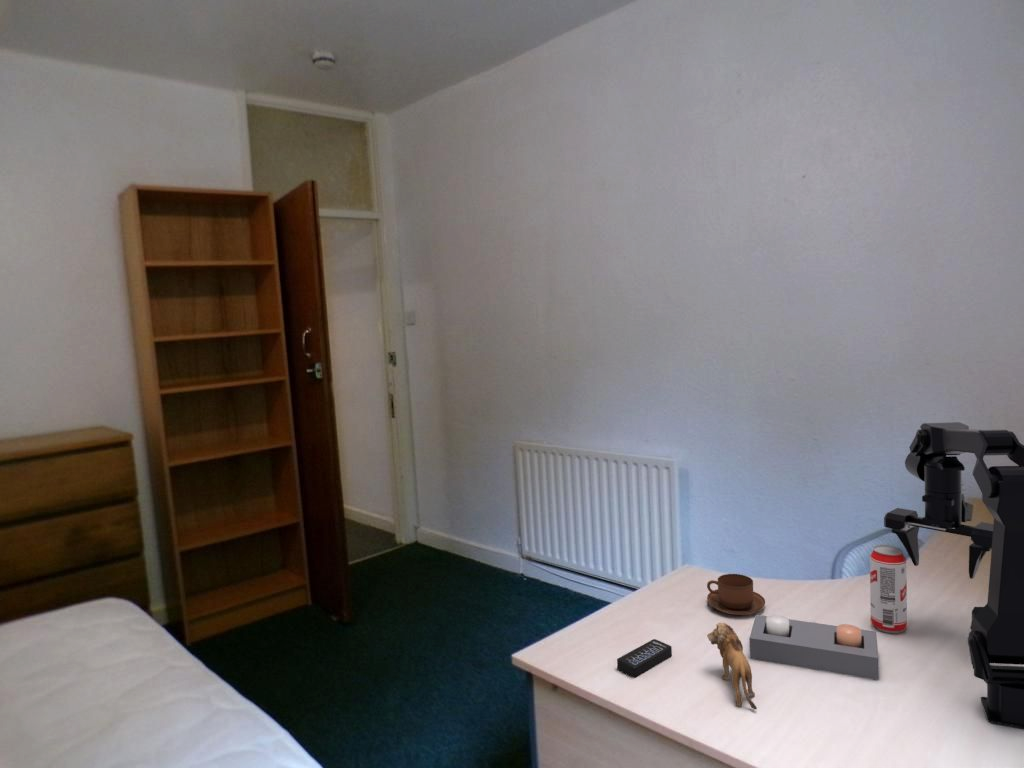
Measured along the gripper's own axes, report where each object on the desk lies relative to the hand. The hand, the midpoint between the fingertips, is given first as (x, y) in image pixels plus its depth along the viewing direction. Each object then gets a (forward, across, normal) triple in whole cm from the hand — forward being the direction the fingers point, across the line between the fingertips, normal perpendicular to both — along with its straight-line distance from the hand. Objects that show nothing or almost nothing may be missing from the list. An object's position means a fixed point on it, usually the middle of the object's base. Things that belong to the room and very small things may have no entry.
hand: (943, 571), depth 123 cm
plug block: (+14, +14, +22) cm, 29 cm away
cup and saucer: (+14, +35, +14) cm, 40 cm away
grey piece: (+11, +19, +24) cm, 33 cm away
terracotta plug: (+11, +8, +19) cm, 24 cm away
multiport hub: (+14, +34, +46) cm, 58 cm away
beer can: (+14, +9, +2) cm, 17 cm away
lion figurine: (+14, +18, +40) cm, 47 cm away
